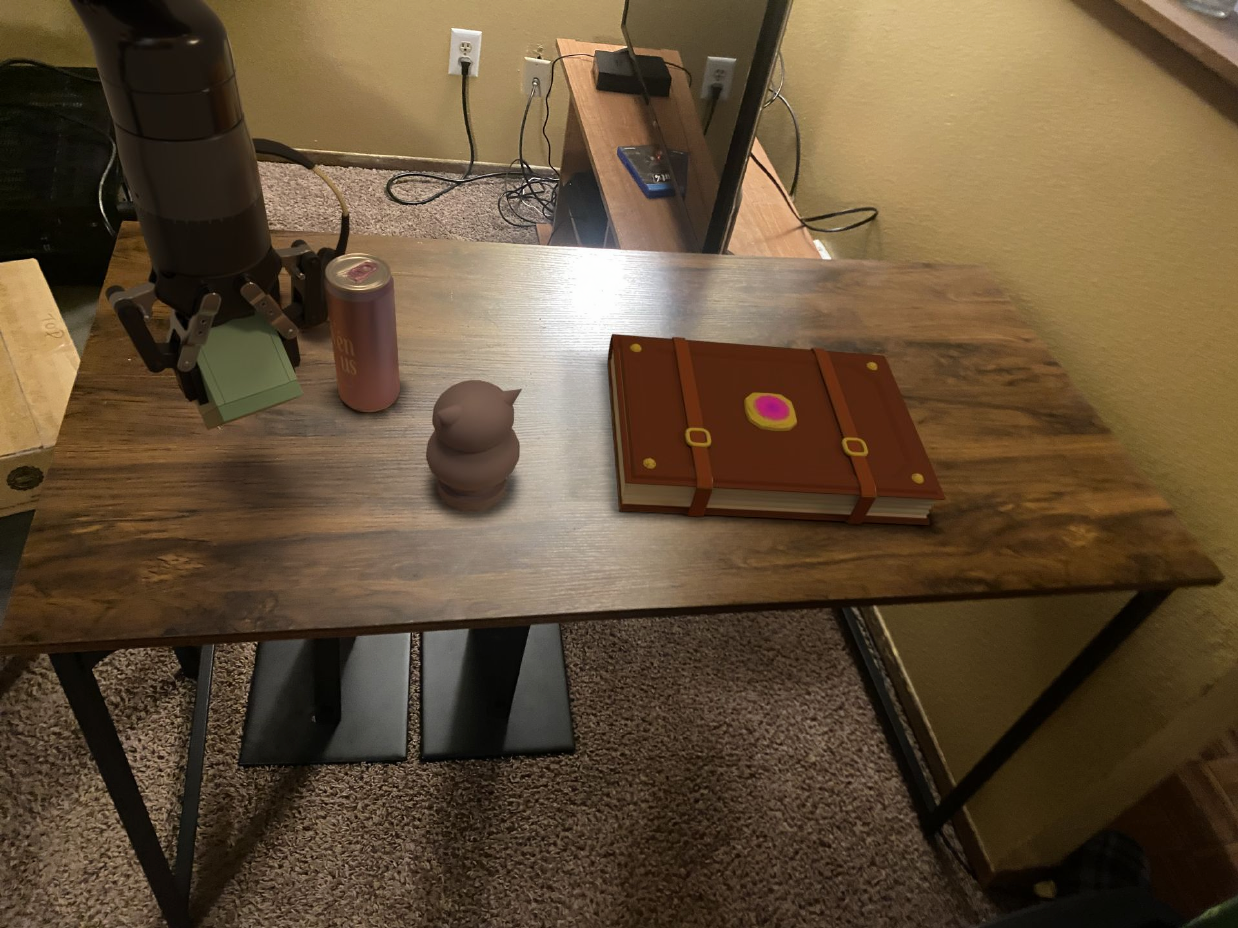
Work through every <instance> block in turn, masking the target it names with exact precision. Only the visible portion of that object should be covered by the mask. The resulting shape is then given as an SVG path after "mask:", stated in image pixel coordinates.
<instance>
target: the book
mask: <svg viewBox="0 0 1238 928" xmlns="http://www.w3.org/2000/svg"><path fill="white" fill-rule="evenodd" d="M607 373H608V387H609V399H610V411H611V423H612V436H613V437H612V438H613V449H614V460H615V461H614V462H615V473H616V474H615V475H616V485H617V487H616V488H617V497H618V500H617V501H618V508H619V511H621V512H622V511H623V512H639V513H640V512H641V513H643V512H644V513H663V514H664V513H665V514H685V515H687V516H688V517H699V518H702V517H704V516H705V515H706V516H727V517H729V516H730V517H750V518H769V519H791V520H812V521H813V520H814V521H831V522H832V521H835V522H845V524H848V525H851V524H852V525H862V524H863V523H878V524H898V525H921V526H929V525H930V521H931V520H930V517H929V514H930V511H929V510H931V509H933V507H932V506H934V505H935V504H936V503H935V502H937V501H945V500H947V498H946V496H945V493H944V491H943V489H942V487H941V484H940V481H939V478H938V476H937V475H936V472H935V470H934V467H933V465H932V463H931V460H930V458H929V456H928V453H927V451H926V449H925V447H924V445H923V442H922V439H921V437H920V434H919V432H918V430H917V427H916V425H915V423H914V421H913V419H912V416H911V414H910V411H909V409H908V407H907V405H906V402H905V400H904V398H903V395H902V393H901V390H900V387H899V386H898V383H897V380H896V379H895V376H894V373H893V371H892V369H891V367H890V365H889V362H888V360H887V357H886V356H885V354H884V355H883V354H873V353H872V354H871V353H860V352H859V353H858V352H847V351H833V350H825V348H818V347H811V348H809V349H808V348H797V347H796V348H795V347H784V346H783V347H782V346H773V345H772V346H769V345H757V344H746V343H745V344H744V343H734V342H720V341H709V340H708V341H707V340H695V339H687V338H685V337H679V336H672V337H671V338H668V337H658V336H657V337H656V336H644V335H631V334H618V333H611V336H610V339H609V345H608V351H607Z"/></svg>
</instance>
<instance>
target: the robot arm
mask: <svg viewBox="0 0 1238 928" xmlns="http://www.w3.org/2000/svg"><path fill="white" fill-rule="evenodd" d="M68 1H69V3H70V5H71V6H72V8H73V10H74V12H75V13H76V15H77V16H78V19H79V20H80V23H81V24H82V26H83V28H84V30H85V32H86V35H87V37H88V39H89V42H90V45H91V47H92V51H93V56H94V61H95V64H96V69H97V72H98V75H99V79H100V82H101V85H102V89H103V93H104V96H105V99H106V101H107V105H108V108H109V113H110V115H111V118H112V122H113V125H114V133H115V141H116V147H117V152H118V157H119V160H120V164H121V167H122V177H123V181H124V185H125V187H126V188H127V190H128V191H129V194H130V197H131V201H132V204H133V207H134V210H135V213H136V217H137V219H138V223H139V226H140V230H141V233H142V237H143V239H144V243H145V246H146V249H147V253H148V256H149V259H150V263H151V269H150V273H149V275H148V281H147V282H145V283H142V284H139V285H136V286H134V287H132V288H129V289H125V288H124V287H123V286H121V285H118V284H115V285H111V286H109V287H107V288H106V290H105V292H104V295H105V297H106V299H107V301H108V303H109V304H110V306H111V308H112V310H113V312H114V313H115V316H116V317H117V319H118V320H119V322H120V324H121V326H122V327H123V329H124V331H125V332H126V334H127V336H128V338H129V339H130V341H131V343H132V344H133V346H134V348H135V350H136V352H137V353H138V355H139V357H140V358H141V360H142V361H143V363H144V365H145V367H146V368H147V370H148V371H149V372H150V373H153V374H158V373H159V374H160V373H161V372H164V371H165V370H166V369H172V370H173V374H174V376H175V380H176V383H177V385H178V388H179V389H180V391H181V392H182V394H183V396H184V397H185V399H186V400H188V401H189V402H195V401H194V400H196V402H197V403H198V405H199V406H201V405H204V404H207V403H209V401H208V397H207V394H206V390H205V387H204V383H203V380H202V376H201V372H200V369H199V367H198V365H197V364H196V361H197V358H198V355H199V352H200V348H201V346H205V344H206V342H207V339H208V335H209V332H210V329H211V328H213V327H216V326H220V325H223V324H225V323H226V322H228V321H230V320H232V319H242V318H247V317H251V316H254V315H255V311H258V312H259V313H260V314H261V315H262V316H263V317H264V318H265V319H266V320H267V321H268V322H269V323H270V324H271V325H273V326H274V327H275V328H276V330H277V332H278V335H279V337H280V339H281V342H282V344H283V346H284V349H285V351H286V354H287V356H288V358H289V361H290V363H291V365H292V368H293V370H294V372H295V373H296V368H298V367H300V365H301V360H302V359H301V354H300V347H299V341H298V335H299V332H300V330H301V329H302V328H304V327H305V326H307V325H309V326H308V327H310V326H313V325H316V324H317V323H318V322H319V321H320V310H321V264H322V262H321V259H320V258H319V257H318V256H317V255H316V254H317V252H315V250H314V249H313V248H312V247H311V246H310V245H309V244H308V243H307V242H306V241H305V240H304V239H301V238H300V239H295V240H294V241H293V242H292V243H291V245H290V247H288V248H279V249H275V248H274V247H273V244H272V236H271V230H270V226H269V219H268V215H267V209H266V203H265V198H264V191H263V187H262V186H263V185H262V181H261V174H260V169H259V163H258V159H257V158H258V157H257V153H255V148H254V144H253V141H252V138H253V137H252V135H251V131H250V129H249V126H248V123H247V120H246V116H245V111H244V107H243V100H242V96H241V90H240V85H239V79H238V74H237V69H236V63H235V56H234V53H233V52H234V51H233V48H232V43H231V41H230V37H229V34H228V31H227V29H226V27H225V25H224V23H223V21H222V19H221V18H220V16H219V15H218V14H217V13H216V12H215V11H214V10H213V9H212V8H211V7H210V6H209V5H208V4H207V2H205V1H204V0H68ZM283 269H284V270H285V272H287V274H288V275H289V276H290V304H289V305H287V306H286V307H284V308H282V307H281V305H280V304H279V303H278V304H277V303H276V301H275V300H274V299H273V298H272V297H271V296H270V295H269V292H270V290H271V289H272V287H273V285H274V283H275V281H276V279H277V278H279V275H280V274H281V272H282V270H283ZM158 301H159V302H161V303H162V304H164V305H166V306H167V307H169V308H170V309H171V310H170V312H169V329H168V331H169V333H168V332H167V333H168V336H167V339H166V341H165V342H156V340H155V339H154V337H153V335H152V333H151V332H150V329H149V327H148V326H147V324H148V323H150V322H151V321H152V317H153V316H154V311H153V306H154V304H155V303H156V302H158Z"/></svg>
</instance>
